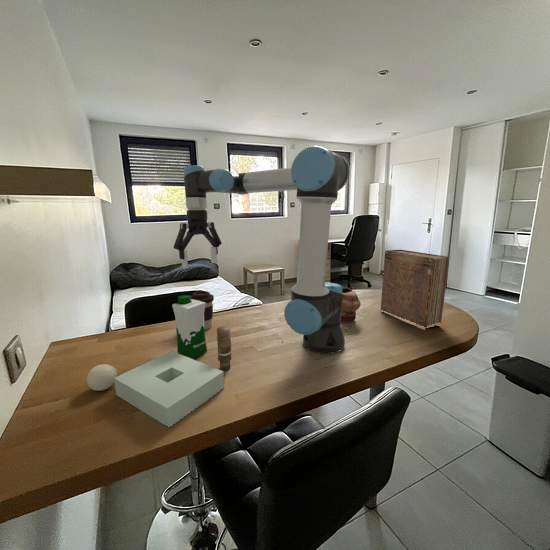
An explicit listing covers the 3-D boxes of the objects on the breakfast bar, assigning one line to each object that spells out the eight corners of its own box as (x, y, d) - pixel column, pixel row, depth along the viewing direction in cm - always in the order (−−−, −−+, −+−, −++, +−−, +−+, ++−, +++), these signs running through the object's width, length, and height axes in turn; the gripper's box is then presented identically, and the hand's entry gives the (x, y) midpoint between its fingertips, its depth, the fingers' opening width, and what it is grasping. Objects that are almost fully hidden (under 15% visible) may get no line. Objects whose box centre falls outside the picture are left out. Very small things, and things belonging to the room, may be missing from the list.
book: (441, 327, 121) (450, 256, 114) (425, 331, 117) (433, 258, 111) (394, 309, 143) (400, 249, 137) (380, 311, 140) (385, 250, 133)
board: (224, 387, 80) (223, 371, 79) (169, 427, 65) (167, 408, 64) (172, 365, 91) (171, 350, 90) (116, 394, 77) (113, 378, 76)
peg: (234, 366, 91) (233, 327, 88) (225, 372, 87) (223, 332, 84) (224, 363, 93) (223, 325, 90) (215, 368, 89) (213, 329, 87)
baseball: (122, 387, 80) (119, 365, 79) (92, 399, 75) (89, 376, 74) (114, 377, 85) (111, 356, 83) (85, 388, 80) (82, 366, 78)
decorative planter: (315, 315, 135) (316, 286, 132) (332, 310, 142) (334, 282, 139) (349, 328, 120) (351, 296, 117) (367, 322, 127) (369, 291, 124)
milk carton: (193, 345, 105) (189, 292, 101) (211, 351, 101) (208, 296, 96) (173, 355, 98) (168, 298, 94) (192, 362, 93) (187, 303, 89)
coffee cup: (218, 323, 126) (216, 290, 123) (210, 332, 116) (209, 296, 113) (196, 322, 127) (194, 289, 124) (187, 331, 117) (184, 296, 114)
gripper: (216, 209, 120) (219, 260, 125) (160, 209, 102) (165, 268, 106) (228, 209, 115) (230, 261, 120) (171, 209, 97) (176, 271, 101)
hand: (200, 265), depth 113 cm, fingers open, 13 cm apart
